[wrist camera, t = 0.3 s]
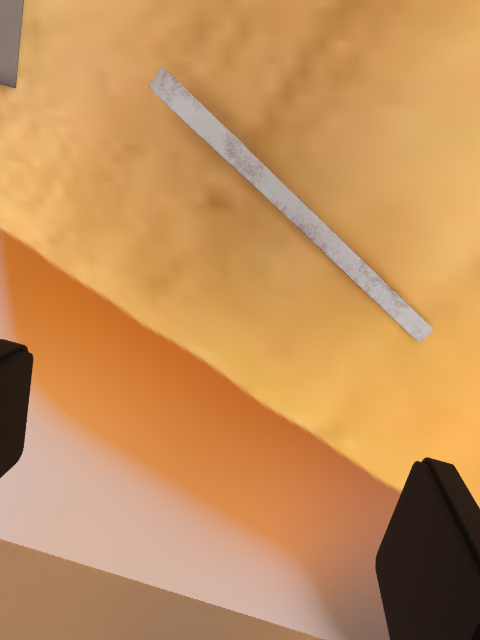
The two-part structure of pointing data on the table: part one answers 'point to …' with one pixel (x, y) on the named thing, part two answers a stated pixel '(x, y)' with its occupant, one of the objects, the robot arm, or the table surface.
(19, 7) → the cubby
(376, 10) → the table surface
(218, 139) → the wrench
